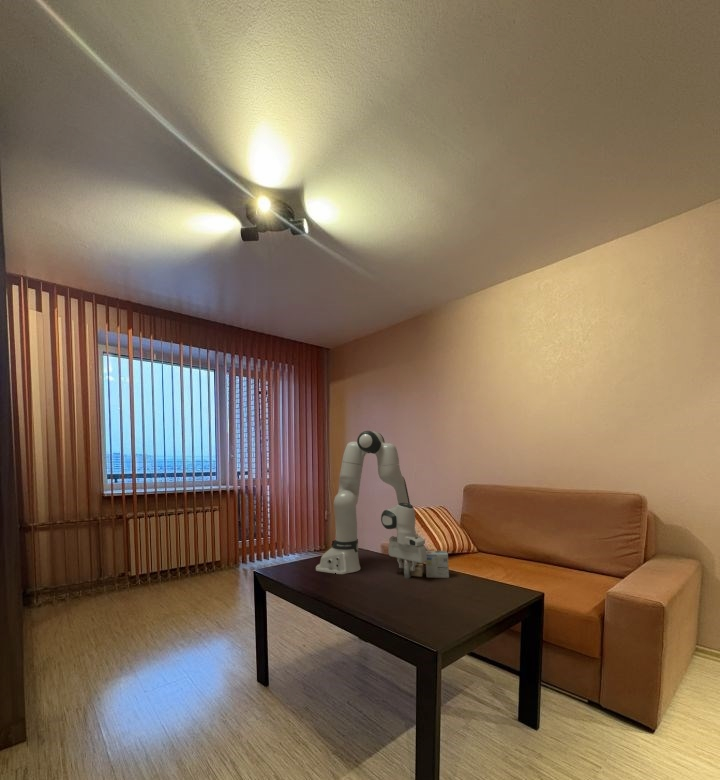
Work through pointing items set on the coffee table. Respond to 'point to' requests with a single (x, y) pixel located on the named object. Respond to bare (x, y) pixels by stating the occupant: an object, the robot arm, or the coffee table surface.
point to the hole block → (417, 570)
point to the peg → (407, 569)
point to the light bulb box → (437, 564)
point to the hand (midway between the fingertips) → (407, 569)
